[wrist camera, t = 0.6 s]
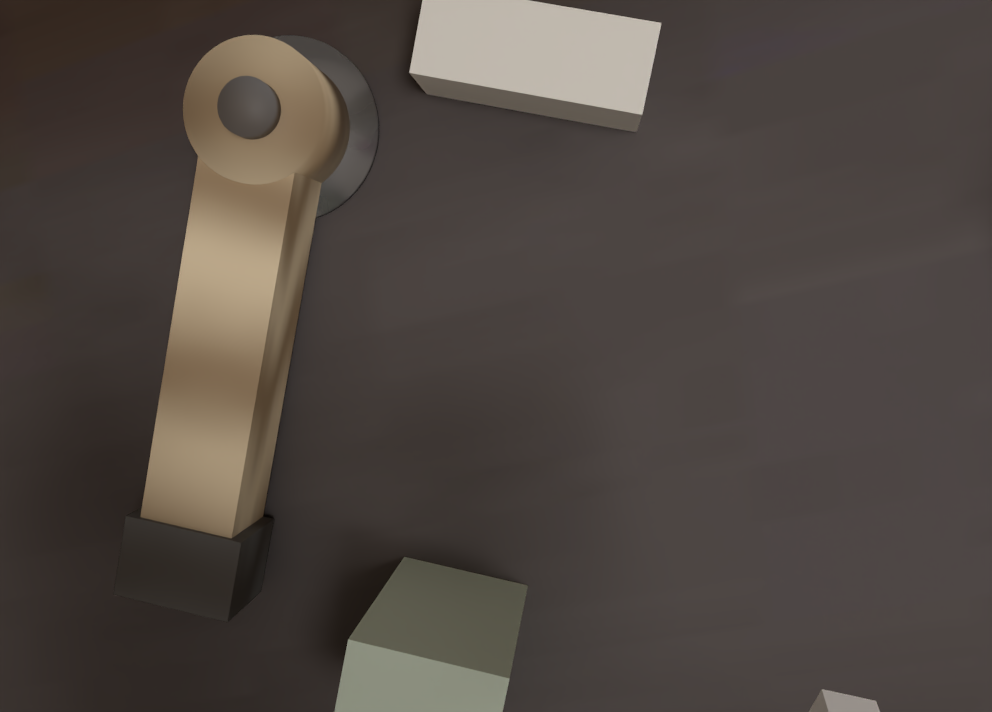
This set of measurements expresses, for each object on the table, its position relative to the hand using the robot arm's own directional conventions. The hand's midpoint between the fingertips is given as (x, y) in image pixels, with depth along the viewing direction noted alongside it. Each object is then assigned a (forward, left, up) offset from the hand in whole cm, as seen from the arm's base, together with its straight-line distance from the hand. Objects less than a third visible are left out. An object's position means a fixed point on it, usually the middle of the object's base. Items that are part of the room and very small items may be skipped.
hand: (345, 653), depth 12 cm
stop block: (+13, +1, -21) cm, 25 cm away
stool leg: (+2, +10, -20) cm, 23 cm away
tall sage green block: (-9, 0, -21) cm, 23 cm away
